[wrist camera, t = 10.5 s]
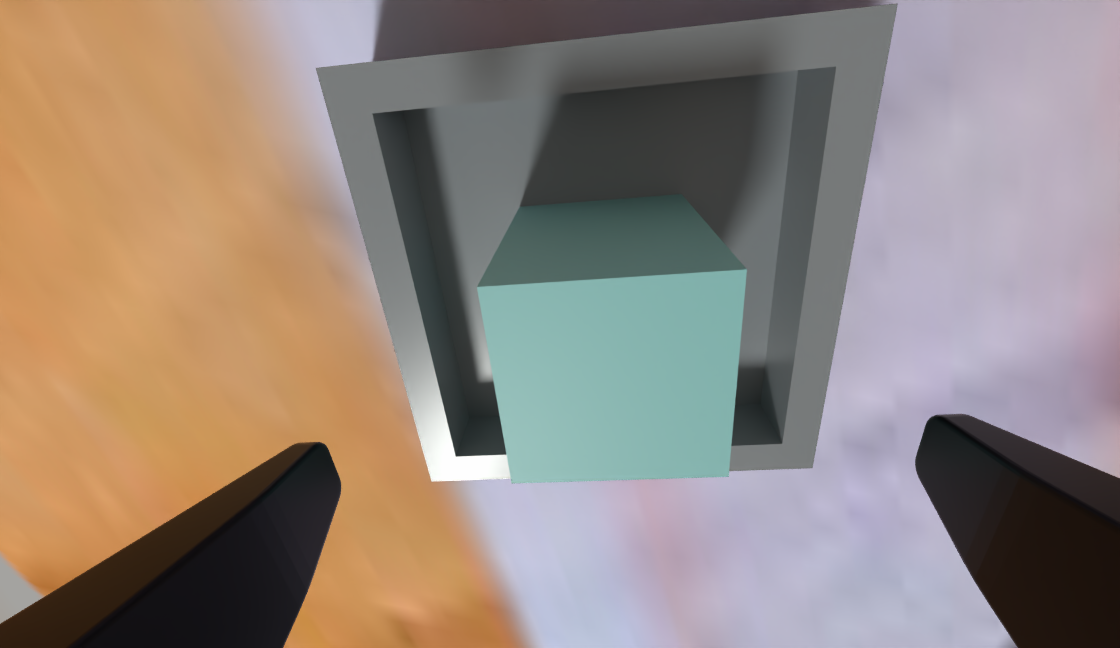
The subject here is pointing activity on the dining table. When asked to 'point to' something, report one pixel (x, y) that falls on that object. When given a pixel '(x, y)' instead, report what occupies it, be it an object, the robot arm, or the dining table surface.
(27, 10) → the dining table surface
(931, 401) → the dining table surface
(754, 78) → the bin
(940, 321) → the dining table surface
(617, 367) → the block
